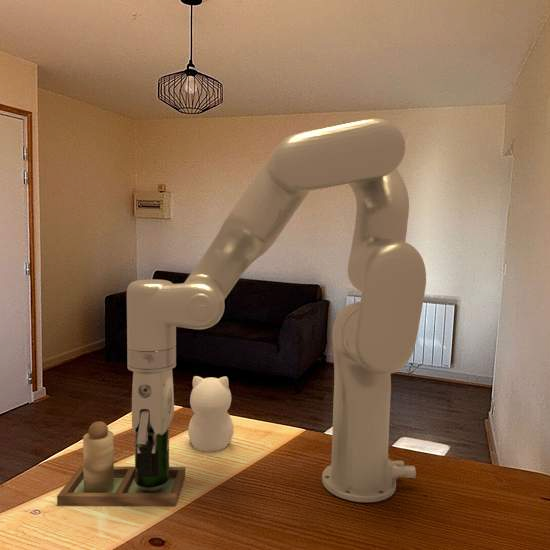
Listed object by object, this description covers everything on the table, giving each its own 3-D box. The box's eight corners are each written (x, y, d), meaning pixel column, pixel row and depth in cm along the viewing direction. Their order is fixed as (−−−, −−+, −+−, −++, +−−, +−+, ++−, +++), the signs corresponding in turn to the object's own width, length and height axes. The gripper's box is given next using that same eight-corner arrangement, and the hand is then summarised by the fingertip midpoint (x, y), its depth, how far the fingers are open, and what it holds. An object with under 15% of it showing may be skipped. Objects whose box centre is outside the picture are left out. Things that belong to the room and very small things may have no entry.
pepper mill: (117, 482, 82) (116, 416, 81) (108, 497, 78) (108, 427, 77) (89, 481, 82) (88, 416, 81) (79, 496, 78) (78, 427, 77)
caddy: (185, 480, 85) (185, 466, 85) (175, 511, 76) (175, 496, 75) (80, 479, 85) (80, 466, 84) (57, 511, 75) (57, 496, 75)
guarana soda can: (141, 495, 76) (140, 420, 75) (130, 480, 81) (130, 409, 80) (174, 486, 79) (174, 414, 78) (162, 472, 84) (161, 403, 83)
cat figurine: (183, 459, 93) (183, 382, 92) (193, 431, 106) (194, 363, 104) (231, 460, 93) (232, 383, 92) (235, 432, 106) (236, 364, 104)
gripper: (164, 373, 70) (165, 495, 71) (184, 345, 87) (184, 444, 88) (111, 372, 70) (113, 495, 71) (141, 344, 87) (142, 444, 88)
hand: (152, 465), depth 80 cm, fingers closed on guarana soda can, 5 cm apart
